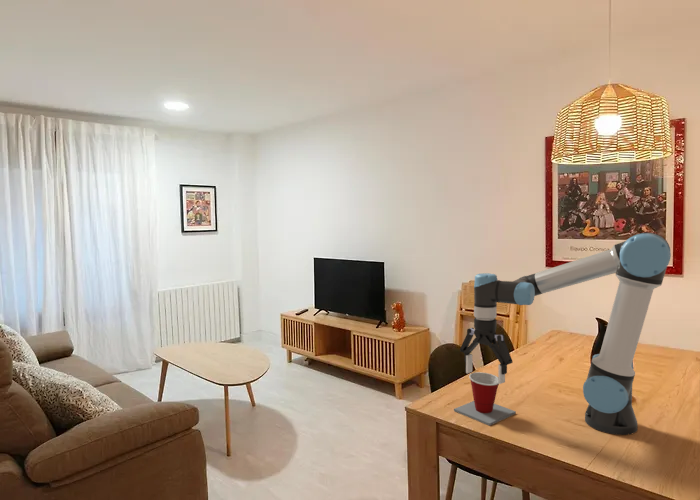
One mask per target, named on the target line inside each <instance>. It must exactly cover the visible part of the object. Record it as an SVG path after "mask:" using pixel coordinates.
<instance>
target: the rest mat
mask: <svg viewBox="0 0 700 500" xmlns="http://www.w3.org/2000/svg"><path fill="white" fill-rule="evenodd" d="M453 411H454V412H455V413H458V414H460V415H463V416H465V417H467V418H470V419H472V420H475V421H477V422H479V423H482V424H484V425H487V426H493V425H494V424H496V423H499V422H501V421H502V420H505V419H507V418H509V417H511V416H513V415H515V414H517V413H516V410H513V409H510V408H508V407H505V406H501V405H499V404H497V403H494V406H493V410H492V412H490V413H481V412H478V411H477V410H476V408H475V403H474V400H473V401H470V402H467V403H465V404H462V405H460V406H458V407H455V408H453Z"/></svg>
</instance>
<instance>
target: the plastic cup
mask: <svg viewBox="0 0 700 500" xmlns="http://www.w3.org/2000/svg"><path fill="white" fill-rule="evenodd" d="M468 377H469V380H470V385H471V391H472V397H473V401H474V403H475V408H476V410H477V411H478V412H481V413H490V412H492V410H493V406H494V404H495V401H496V397H497V391H498V387H499V386H500V384H499V383H498V376H497V375H495V374H492V373H487V372H481V371H479V372H478V371H477V372H473V373H472V372H471V373H469V375H468Z"/></svg>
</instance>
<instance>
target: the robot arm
mask: <svg viewBox="0 0 700 500" xmlns="http://www.w3.org/2000/svg"><path fill="white" fill-rule="evenodd" d="M671 255H672V254H671V247H670V244H669V242H668V241H667V239H666V238H664V237H663V236H662V235H660V234H658V233H654V232H641V233H637V234H634V235H632V236H630V237H629V238H627V239H626V240H624V241H622V242H619V243H615V244H613V246H612V247H611V248H610V249H607V250H605V251H604V250H603V251H601V252H598V253H594V254H591V255H589V256H585V257H582V258H579V259H575V260H573V261H570V262H566V263H563V264H560V265H557V266H554V267H551V268H548V269H544V270H541V271H538V272H536V273H531V274H528V275H524V276H521V277H519V278H518V279H515V280H500V279H499V280H498V276H497V274H496V273H488V272H486V273H485V272H484V273H477V274H476V275H475V276H474V283H473V284H474V285H473V295H474V296H473V297H474V298H473V301H474V304H473V305H474V306H473V316H474V319H473V327H470V328H467V329H466V334H465V337H464V339H463V342H462V343H461V346H460V347H459V352H460V353H463V354H464V363H465V373H466V374H471V373H472V372H473V354H472V352H473V351H474V350H475V349H476V347H477V346H478V345H479V344H480V345H484V346H488V348H490V349H491V351H492V352H493V354H494V355H495V357H496V358H497V360H498V363H499V364H498V373H497V374H498V376H497V377H498V383H499V385H501V384H504V383H506V375H507V374H508V365H511V364H513V359H512V357H511V354H510V351H509V348H508V346H507V343H506V340H505V335H504V334H497V333H496V330H497V306H498V305H497V304H498V303H501V304H509V305H519V306H531V305H532V304H533V303H534V301H535V297H537V296H540V295H543V294H546V293H550V292H552V291H553V292H554V291H556V290H557V291H558V290H560V289H561V290H562V289H563V288H567V287H571V286H573V285H574V286H575V285H578V284H581V283H585V282H588V281H591V280H595V279H599V278H602V277H605V276H610V275H614V274H615V276H616V277H617V279H618V280H619V282H618V286H617V290H616V292H615V293H616V294H615V296H614V302H613V305H612V308H611V312H610V316H609V320H608V323H607V326H606V331H605V333H604V336H603V341H602V345H601V349H600V351H599V353H597V354H594V355H592V359H591V362H590V366H589V369H588V374H587V377H586V380H585V381H584V383H583V385H582V393H583V397H584V399H585V401H586V402H587V404H588V405H587V408H586V411H585V412H584V422H585V423H586V424H587V425H588V426H589V427H591V428H592V429H594V430H597V431H599V432H603V433H607V434H612V435H619V436H627V435H628V434H629V435H633V434H635V433H637V431H638V420H637V417H636V414H635V412H634V411H635V410H634V407H633V382H634V378H635V376H636V371H635V370H634V362H633V361H634V358H635V354H636V351H637V347H638V344H639V340H640V336H641V334H642V330H643V327H644V323H645V319H646V316H647V313H648V310H649V305H650V303H651V299H652V296H653V292H654V290H655V289H656V288H658V287H661V286H662V284H663V280H664V278H665V274H666V271H667V268H668V265H669V264H670V261H671V257H672V256H671ZM474 336H475V338H474V339H473V337H474ZM472 339H473V340H472ZM471 341H472V342H471ZM632 433H633V434H632Z"/></svg>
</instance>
